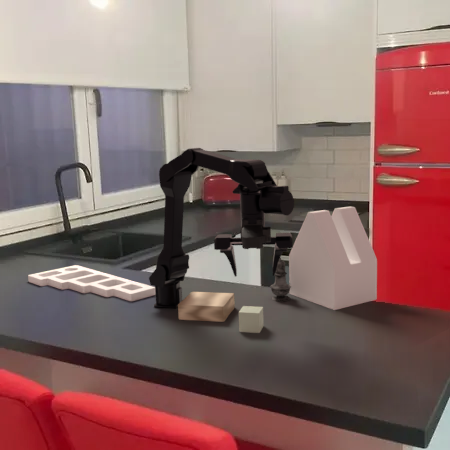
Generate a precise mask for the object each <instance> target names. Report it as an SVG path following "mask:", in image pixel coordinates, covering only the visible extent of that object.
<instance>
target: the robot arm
mask: <svg viewBox="0 0 450 450" xmlns="http://www.w3.org/2000/svg"><path fill="white" fill-rule="evenodd" d="M199 168H204V169H207V170H210V171H212V172H213V171H214V172H217V173H221V174H223V175H226V176H228V177H229V178H230V180H231V181H233V182H235V183H236V184H238V185H237V186H236V187H235V188H234V189H233V190H232V194H234V195H235V194H236V195H239V201H240V203H239V204H240V237H232V234H231V233H230V234H227V233H225V234H223V233H221V234H219V233H218V234H217V235H216V236H215V238H214V241H213V244H214V245H213V247H214V250H216V251H219V253H220V254H224V255H225V257H226V258H227V260H228V263H229V264H230V267H231V270H232V272H233V275H234V277H237V276H238V275H237V274H238V273H237V272H238V270H237V269H238V268H237V263H236V255H235V247H234V246H241V247H242V249H244V250H249V249H257V250H261V249H262V248H263V246H265V245H266V246H267V245H269V246H270V245H274V250H273V260H272V276H274V277H275V271H276V268H277V265H278V261H279V259H280V258H281V257H282V254H283V252H284V253H286V252H288V249H292V248H293V245H294V242H293V234H292V233H291V232H275V236H271V234H272V230H271V226H266V225H265V224H266V221H265V220H266V219H265V217H266V216H265V215H278V216H289V215H291V214H292V212H293V210H294V208H295V198H294V196H293V194H292V192H291V191H290V189H289V188H290V187H289V185H279V186H278V184H277V183H276V182H275V180H274V178H273V177H272V175H271V174H270V172H269V170H268V167H267V165H266V163H265V161H264V160H262V159H256V158H254V159H253V158H235V157H231V156H227V155H223V154H220V153H216V152H212V151H209V150H204V149H203V148H201V147H194V148H193V147H192V148H191V147H190V148H187V149H186V150H183V152H182V153H181V154H180V155H178V156H176V157H175V158H173V159H171V160H170V161H168V163H164V164H162V166H161V167H160V168H159V171H158V176H159V186H160V188H161V191H162V192H163V194H164V222H163V223H164V227H163V228H164V229H163V247H162V249H161V251H160V253H159V255H158V256H157V260H156V265H155V269H154V270H153V272H152V273H151V274H150V276H149V277H148V281H149V283H150V286H152V287H155V294H156V295H155V304H153V307H154V308H170V309H172V308H173V309H175V308H178V304H179V303H180V302H181V301H182V300H183V288H182V286H181V283H180V282H183V281H184V280H185V277H186V275H187V272H188V269H190V264H189V263H190V262H189V261H190V255H189V254H186V253H185V251H184V249H183V228H184V227H183V226H184V225H183V223H184V221H183V220H184V207H185V205H184V201H185V195H186V194H187V192H188V190H189V189H190V186H191V181H192V177H193V175H194V174H195V173H196V172H197V171H198V170H199ZM184 282H185V281H184Z"/></svg>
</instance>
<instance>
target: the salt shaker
mask: <svg viewBox="0 0 450 450" xmlns="http://www.w3.org/2000/svg"><path fill="white" fill-rule="evenodd" d="M287 274H288V273H287V272H286V262H285V261H284V260H282V258H281V257H280V259H279V261H278V265H277V268H276V271H275V275H274V283H273V284H271V285H270V286H269V288H270V289H271V293H272V294H273V296H272V297H271V300H272V301H274V302H286V301H290V299H291V297H290V296H288V294H290V288H291V286H290V285H289V284H288V283H287V281H286V279H287V278H286V275H287Z"/></svg>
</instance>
